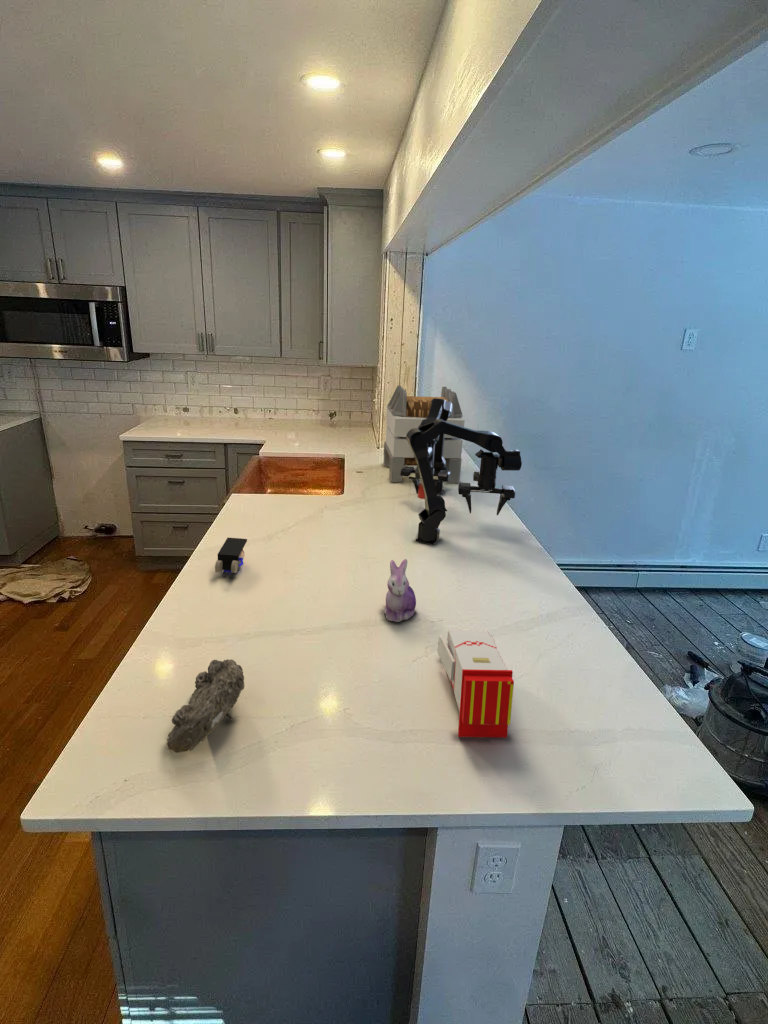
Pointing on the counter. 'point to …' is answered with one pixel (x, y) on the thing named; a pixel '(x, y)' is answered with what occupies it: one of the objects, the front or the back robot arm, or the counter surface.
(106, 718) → the counter surface
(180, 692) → the counter surface
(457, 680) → the toy
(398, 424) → the transformer
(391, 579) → the figurine
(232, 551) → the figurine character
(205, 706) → the fossil
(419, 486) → the canister
